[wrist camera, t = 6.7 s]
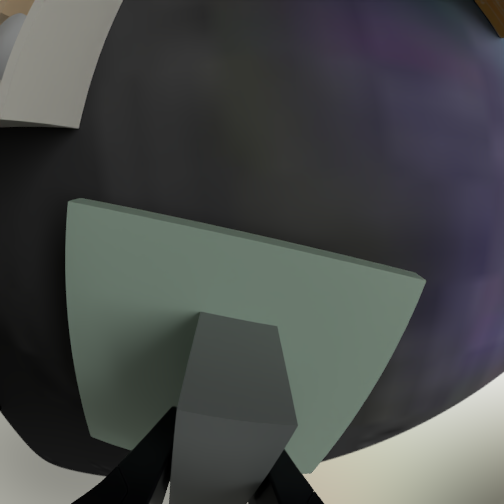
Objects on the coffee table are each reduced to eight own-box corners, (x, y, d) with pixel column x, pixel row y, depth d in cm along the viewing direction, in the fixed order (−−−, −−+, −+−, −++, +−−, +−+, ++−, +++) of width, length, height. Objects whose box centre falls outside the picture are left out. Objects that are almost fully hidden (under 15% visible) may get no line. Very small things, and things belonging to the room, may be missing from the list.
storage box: (-38, 129, 9) (-92, 133, 4) (17, -17, 6) (-22, -39, 1) (78, 128, 10) (1, 119, 5) (154, -54, 7) (129, -107, 2)
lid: (101, 414, 12) (67, 492, 7) (94, 194, 9) (-26, 232, 3) (306, 450, 14) (322, 530, 8) (402, 263, 10) (500, 338, 5)
